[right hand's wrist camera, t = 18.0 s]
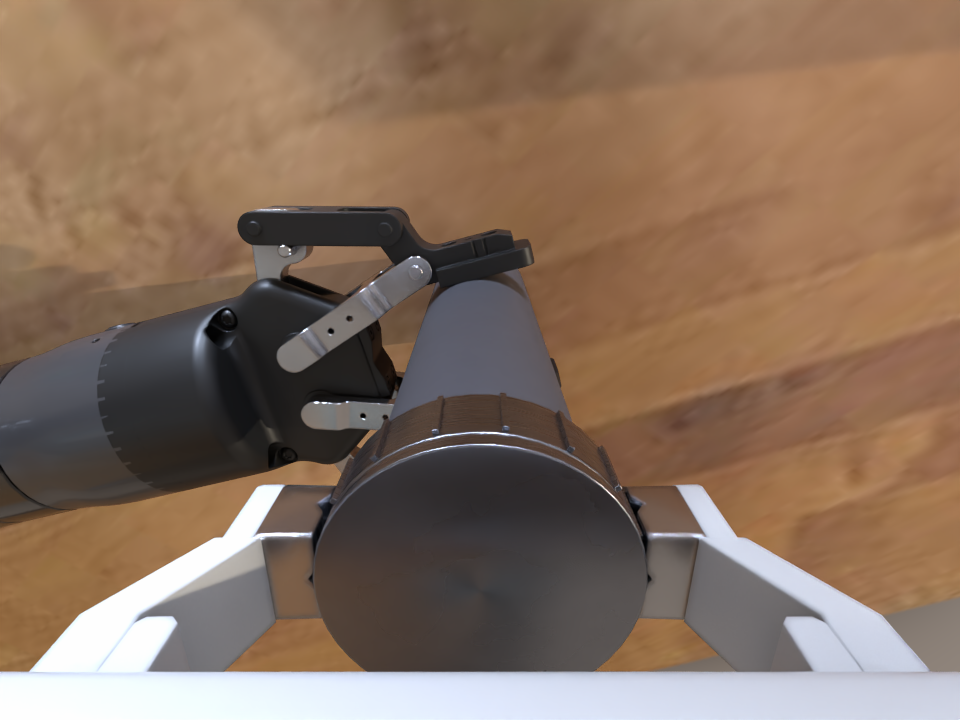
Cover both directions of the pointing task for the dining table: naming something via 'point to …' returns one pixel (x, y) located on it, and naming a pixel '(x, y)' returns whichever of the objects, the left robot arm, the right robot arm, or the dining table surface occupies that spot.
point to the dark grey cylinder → (480, 347)
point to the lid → (480, 544)
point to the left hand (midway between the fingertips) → (542, 313)
